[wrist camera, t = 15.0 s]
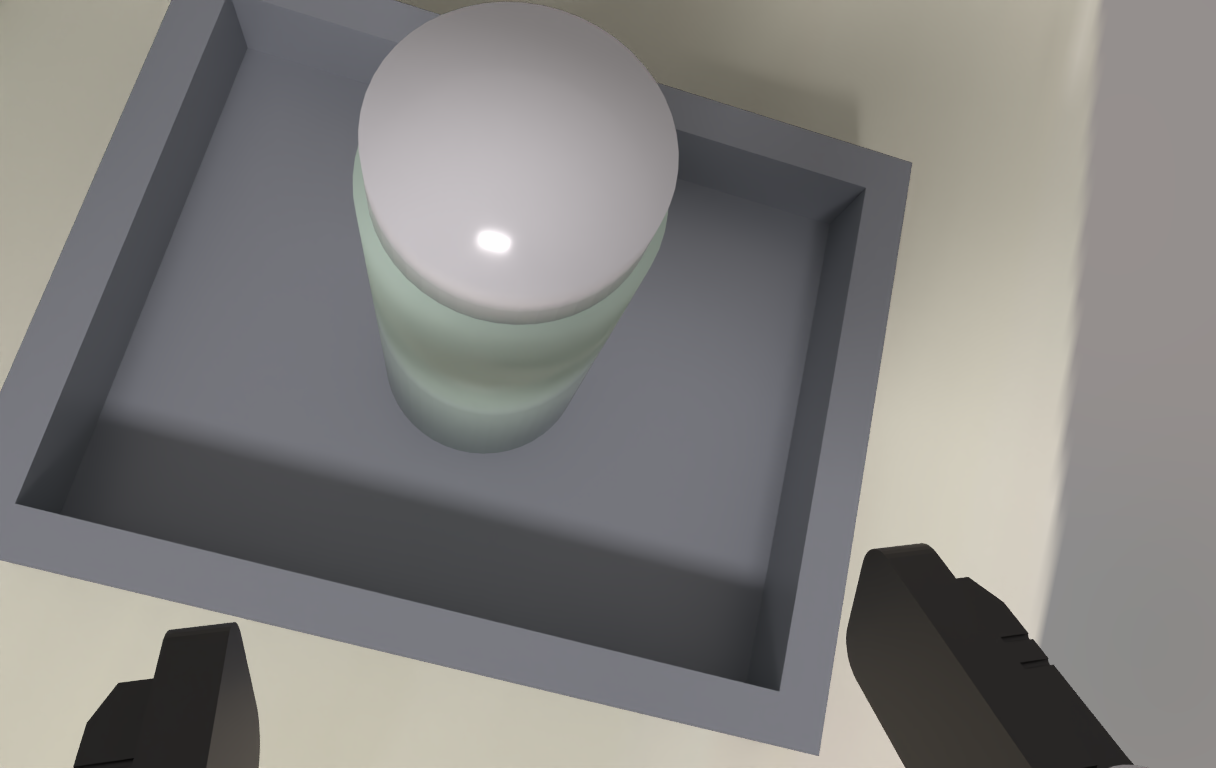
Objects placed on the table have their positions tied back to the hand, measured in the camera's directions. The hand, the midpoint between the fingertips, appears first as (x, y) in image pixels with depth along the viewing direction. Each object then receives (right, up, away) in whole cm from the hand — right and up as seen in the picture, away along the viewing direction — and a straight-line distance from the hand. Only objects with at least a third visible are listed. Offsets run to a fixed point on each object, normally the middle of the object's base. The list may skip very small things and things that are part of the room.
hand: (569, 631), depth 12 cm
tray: (-3, +4, +15) cm, 15 cm away
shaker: (-3, +4, +14) cm, 14 cm away
